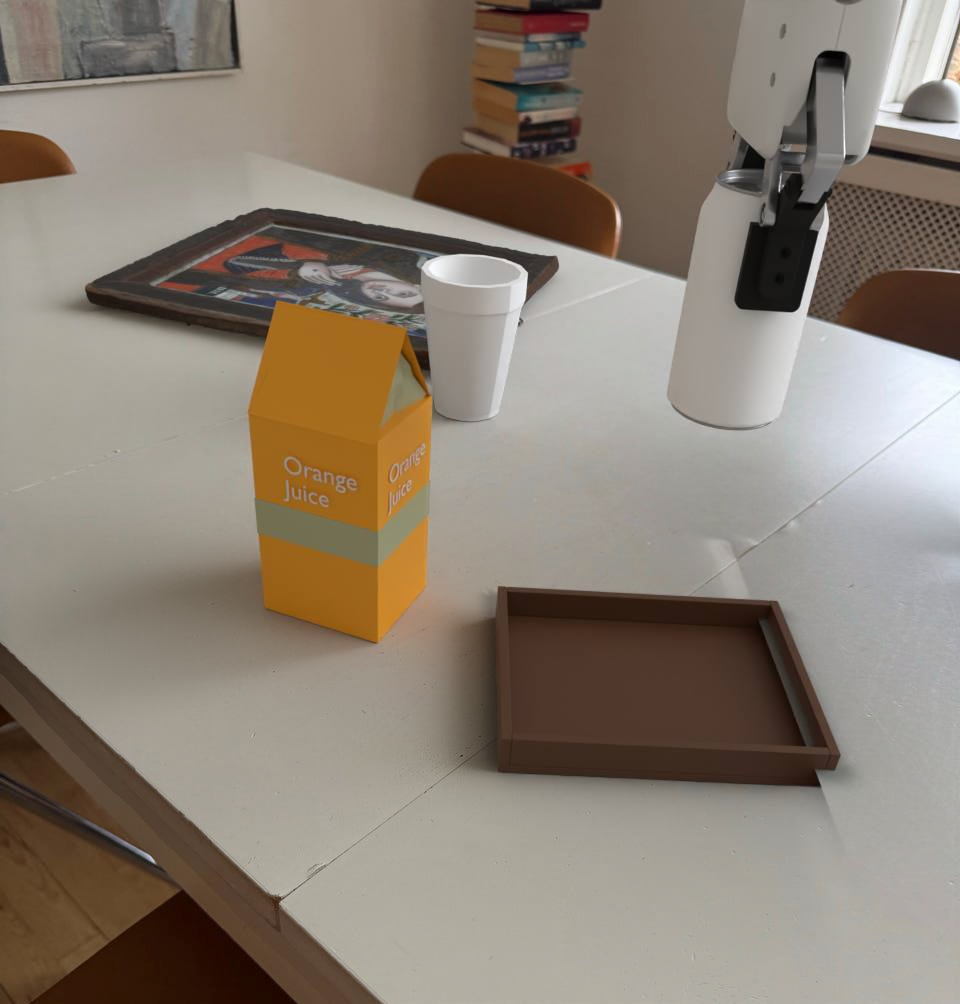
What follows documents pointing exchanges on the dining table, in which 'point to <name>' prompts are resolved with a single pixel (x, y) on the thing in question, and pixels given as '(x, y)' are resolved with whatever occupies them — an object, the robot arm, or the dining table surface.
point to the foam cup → (471, 330)
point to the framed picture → (295, 273)
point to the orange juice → (340, 470)
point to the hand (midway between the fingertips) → (750, 282)
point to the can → (733, 319)
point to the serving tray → (652, 689)
